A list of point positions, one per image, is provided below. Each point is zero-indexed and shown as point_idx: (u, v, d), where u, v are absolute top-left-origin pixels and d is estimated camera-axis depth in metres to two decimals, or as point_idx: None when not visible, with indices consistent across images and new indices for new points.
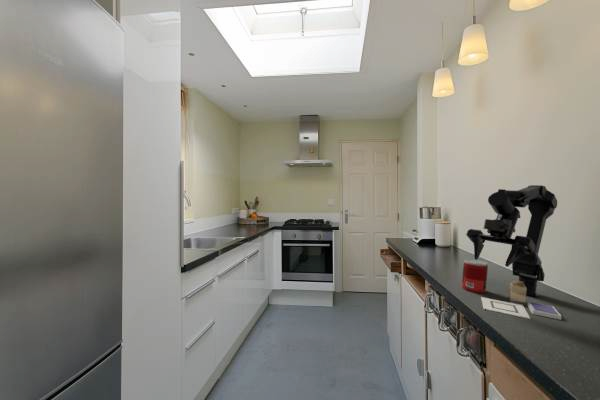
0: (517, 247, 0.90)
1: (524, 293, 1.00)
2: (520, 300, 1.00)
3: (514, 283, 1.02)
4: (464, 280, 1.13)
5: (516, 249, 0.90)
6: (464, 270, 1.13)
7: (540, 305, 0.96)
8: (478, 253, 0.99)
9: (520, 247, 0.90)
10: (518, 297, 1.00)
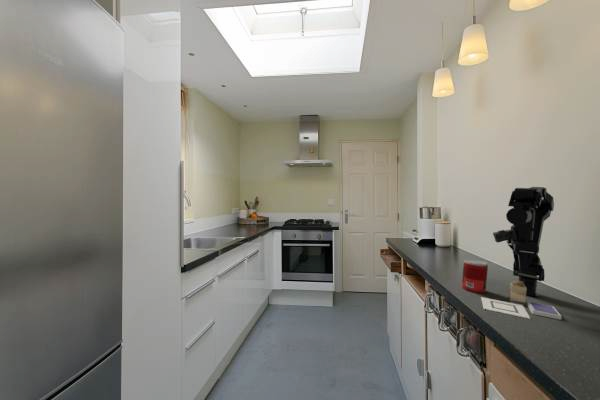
0: (516, 253, 0.97)
1: (524, 293, 1.00)
2: (520, 300, 1.00)
3: (514, 283, 1.02)
4: (464, 280, 1.13)
5: (518, 255, 0.97)
6: (464, 270, 1.13)
7: (540, 305, 0.96)
8: (518, 259, 1.06)
9: None
10: (518, 297, 1.00)
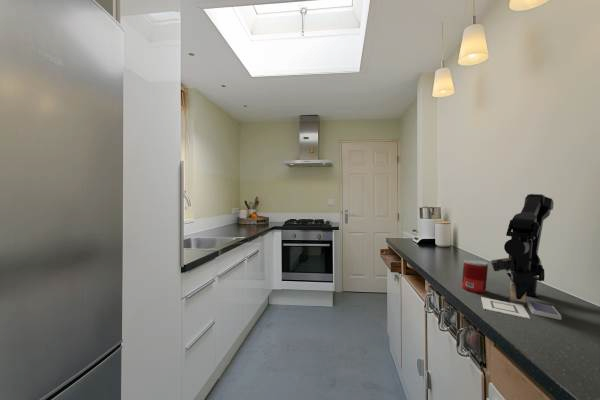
0: (513, 282, 0.99)
1: None
2: (520, 300, 1.00)
3: None
4: (464, 280, 1.13)
5: (514, 283, 0.99)
6: (464, 270, 1.13)
7: (540, 305, 0.96)
8: None
9: (515, 281, 0.99)
10: None
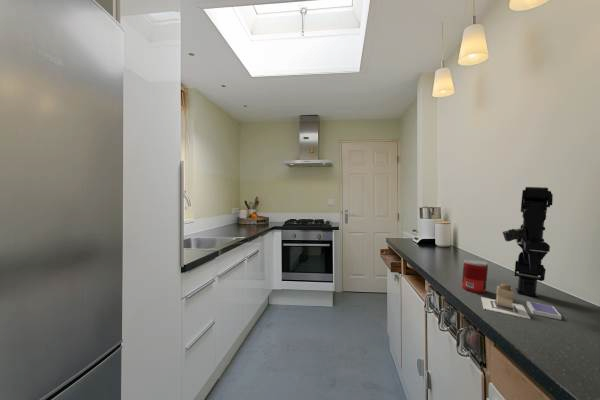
0: (527, 252, 0.97)
1: (511, 297, 0.93)
2: (507, 305, 0.94)
3: (501, 287, 0.96)
4: (464, 280, 1.13)
5: (528, 253, 0.97)
6: (464, 270, 1.13)
7: (540, 305, 0.96)
8: (528, 258, 1.06)
9: None
10: (504, 301, 0.94)
